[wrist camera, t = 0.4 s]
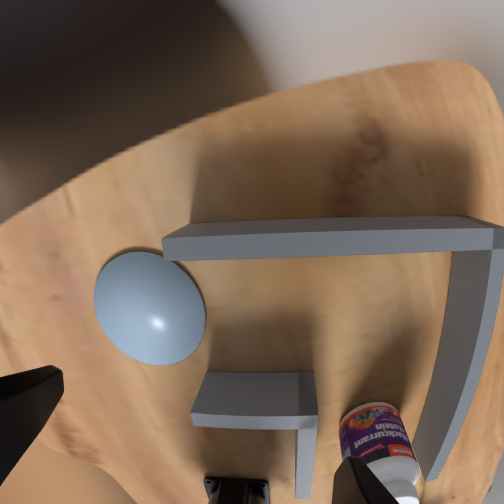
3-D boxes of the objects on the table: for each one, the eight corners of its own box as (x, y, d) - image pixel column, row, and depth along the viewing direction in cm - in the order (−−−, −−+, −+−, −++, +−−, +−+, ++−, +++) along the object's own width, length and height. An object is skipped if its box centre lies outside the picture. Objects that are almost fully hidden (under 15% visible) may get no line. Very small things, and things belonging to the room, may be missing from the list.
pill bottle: (402, 394, 22) (439, 482, 13) (393, 438, 24) (418, 520, 14) (338, 403, 23) (354, 500, 14) (335, 446, 24) (346, 534, 15)
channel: (422, 442, 24) (437, 478, 19) (221, 455, 26) (211, 495, 21) (467, 216, 19) (508, 228, 14) (189, 223, 21) (161, 238, 16)
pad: (212, 366, 23) (211, 368, 23) (109, 358, 24) (107, 359, 24) (198, 248, 21) (197, 249, 21) (86, 253, 22) (84, 254, 22)
